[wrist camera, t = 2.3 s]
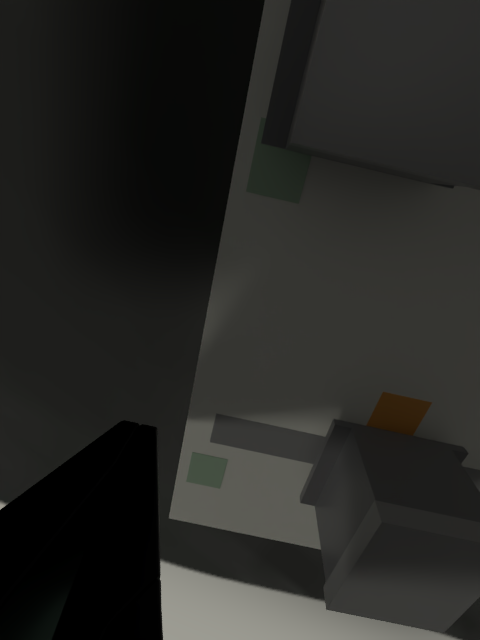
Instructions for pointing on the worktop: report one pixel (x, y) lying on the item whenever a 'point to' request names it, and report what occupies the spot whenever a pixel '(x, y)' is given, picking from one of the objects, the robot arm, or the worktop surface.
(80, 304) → the worktop surface
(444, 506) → the breaker
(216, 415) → the breaker board
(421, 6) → the block
